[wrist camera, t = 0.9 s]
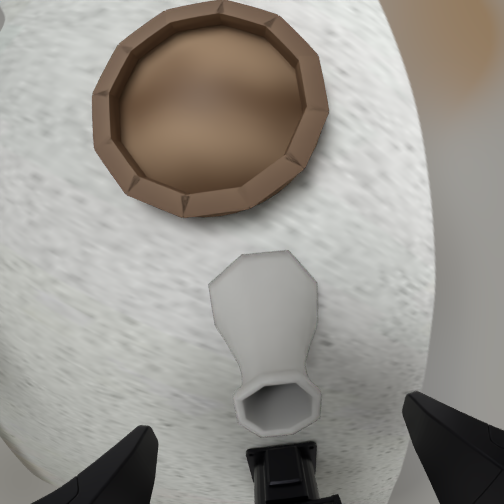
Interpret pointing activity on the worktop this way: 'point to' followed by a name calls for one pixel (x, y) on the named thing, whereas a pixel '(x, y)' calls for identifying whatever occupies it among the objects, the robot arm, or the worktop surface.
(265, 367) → the flask
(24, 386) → the worktop surface
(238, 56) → the walnut collar
